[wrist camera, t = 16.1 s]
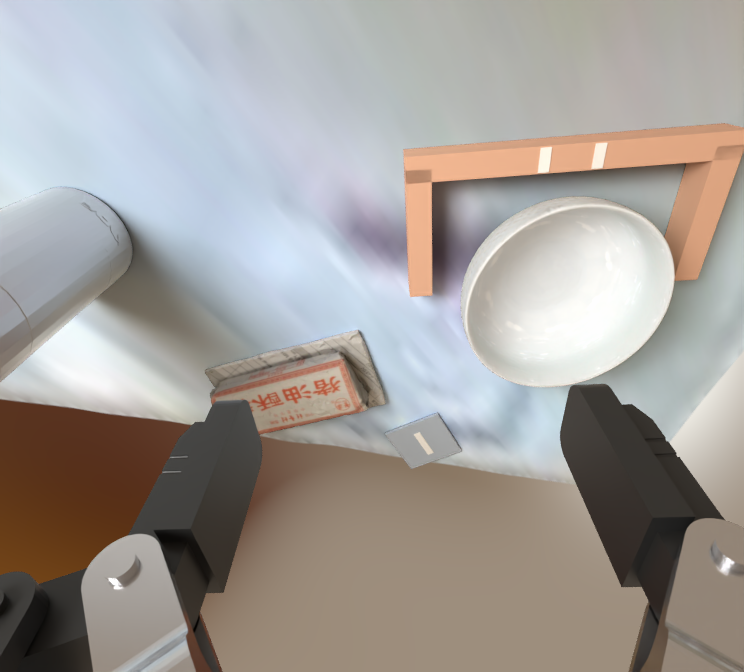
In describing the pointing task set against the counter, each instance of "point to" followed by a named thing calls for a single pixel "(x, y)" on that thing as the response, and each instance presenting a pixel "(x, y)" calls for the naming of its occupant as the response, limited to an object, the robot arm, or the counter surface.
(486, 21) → the counter surface
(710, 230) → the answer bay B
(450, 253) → the counter surface
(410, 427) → the tile
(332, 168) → the counter surface
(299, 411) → the packaged product
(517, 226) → the cereal bowl
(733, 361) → the counter surface
